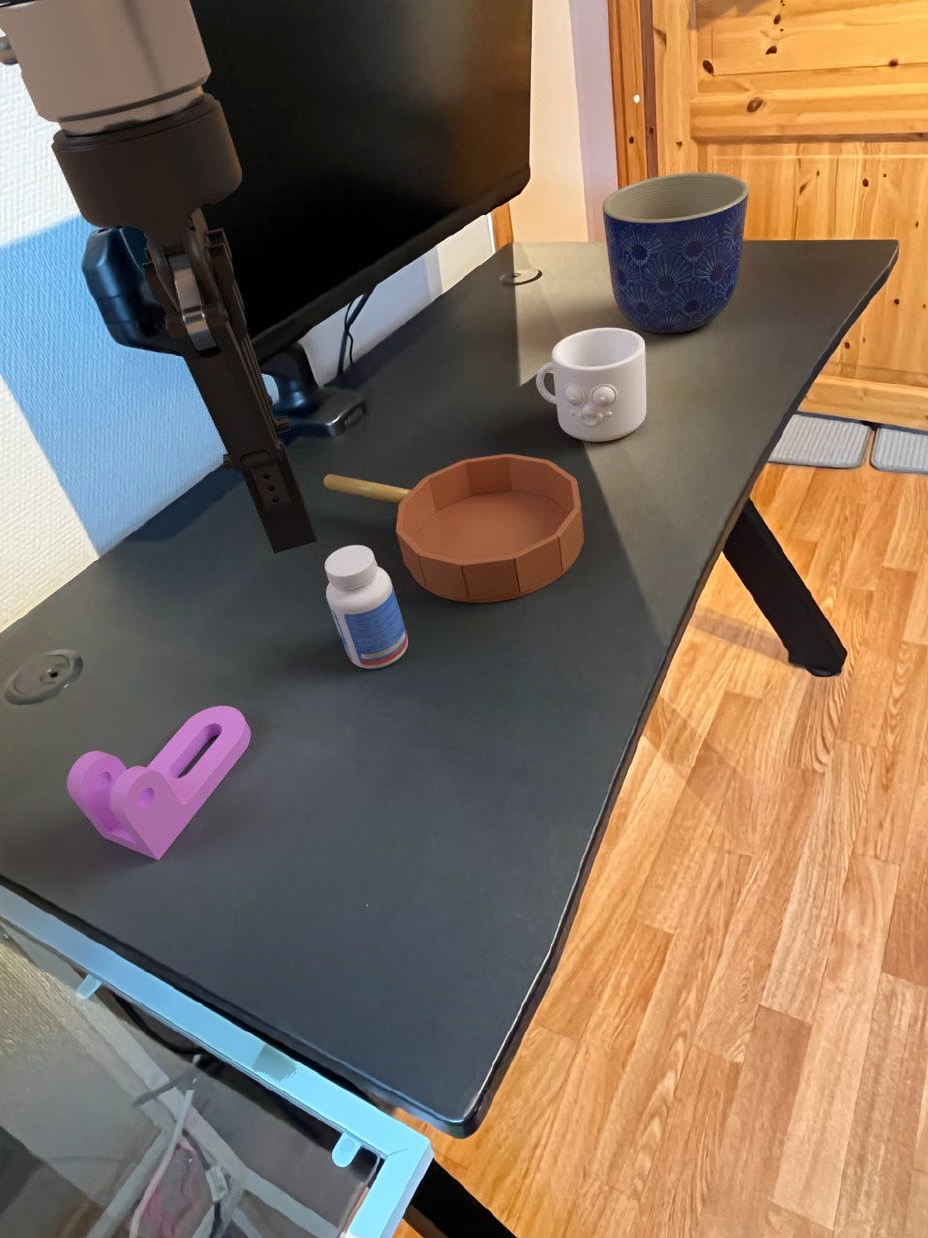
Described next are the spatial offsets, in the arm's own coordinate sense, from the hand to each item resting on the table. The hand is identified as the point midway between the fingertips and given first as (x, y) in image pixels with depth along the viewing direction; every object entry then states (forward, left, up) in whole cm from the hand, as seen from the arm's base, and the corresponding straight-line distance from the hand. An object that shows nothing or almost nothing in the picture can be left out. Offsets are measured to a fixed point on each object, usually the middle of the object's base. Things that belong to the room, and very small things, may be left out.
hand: (294, 540), depth 52 cm
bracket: (+2, +14, -20) cm, 25 cm away
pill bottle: (+10, -2, -20) cm, 22 cm away
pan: (+24, -12, -20) cm, 33 cm away
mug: (+36, -32, -20) cm, 52 cm away
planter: (+56, -51, -20) cm, 78 cm away
